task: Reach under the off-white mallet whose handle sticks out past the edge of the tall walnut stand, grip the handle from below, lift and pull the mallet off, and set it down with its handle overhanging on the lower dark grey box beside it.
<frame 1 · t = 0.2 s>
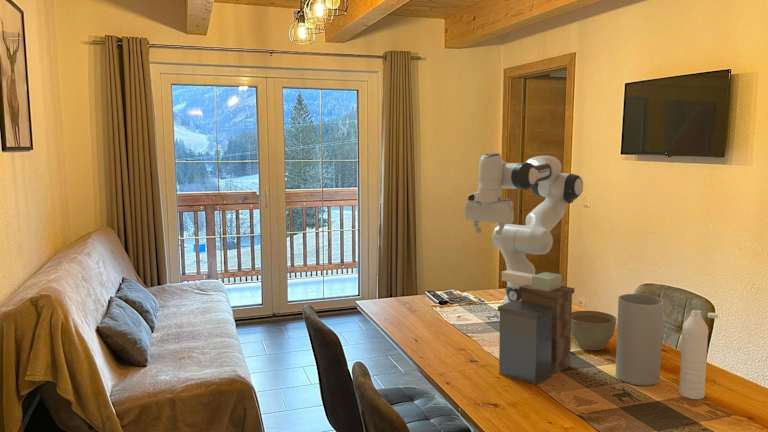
hand: (488, 234, 215), 39 cm above the table, tool pointing down, fingers open, 8 cm apart
dark grey box: (524, 375, 181), on the table
planter bowl: (591, 346, 205), on the table
water bottle: (695, 396, 165), on the table
mallet: (533, 284, 190), point 26 cm above the table, touching tall stand
tall stand: (545, 364, 189), on the table
cylinder vase: (637, 378, 178), on the table
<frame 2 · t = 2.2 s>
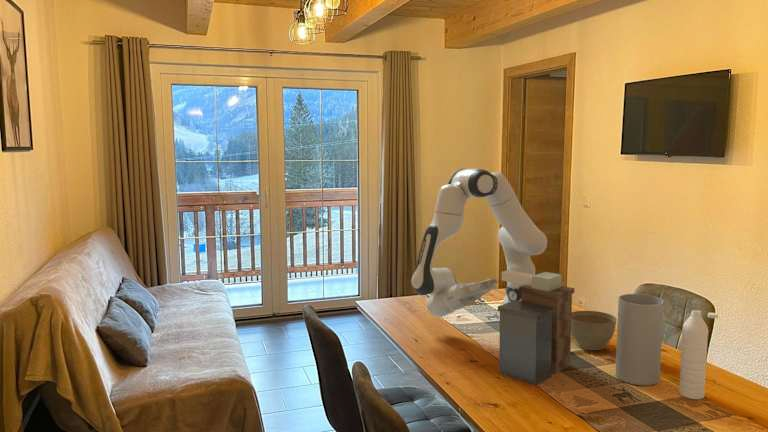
hand: (488, 282, 202), 24 cm above the table, tool pointing upward, fingers open, 8 cm apart
nothing on the table moved.
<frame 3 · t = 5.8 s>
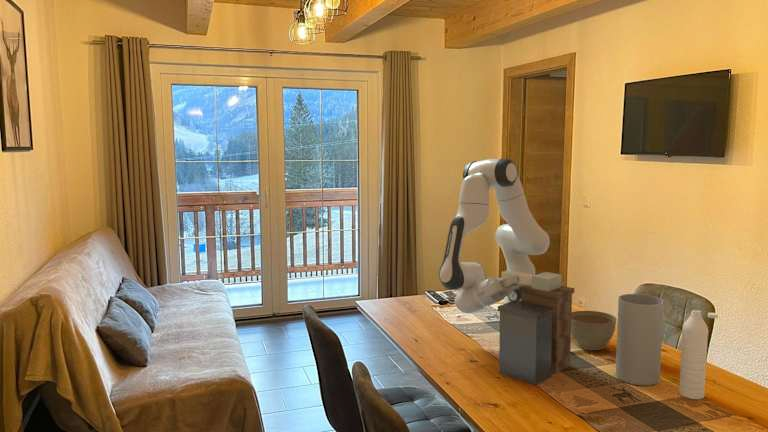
hand: (522, 276, 192), 28 cm above the table, tool pointing upward, fingers closed on mallet, 4 cm apart
mallet: (533, 284, 190), point 26 cm above the table, touching gripper, tall stand
everything else where it was.
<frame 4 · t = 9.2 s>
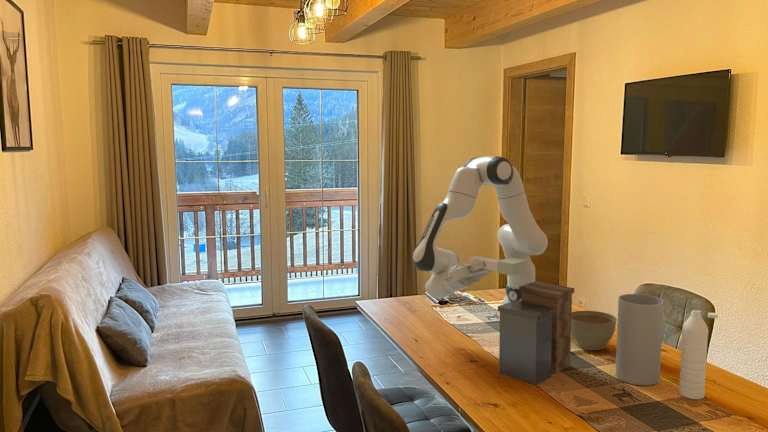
hand: (488, 262, 196), 32 cm above the table, tool pointing upward, fingers closed on mallet, 4 cm apart
mallet: (499, 269, 193), point 30 cm above the table, touching gripper
everything else where it was.
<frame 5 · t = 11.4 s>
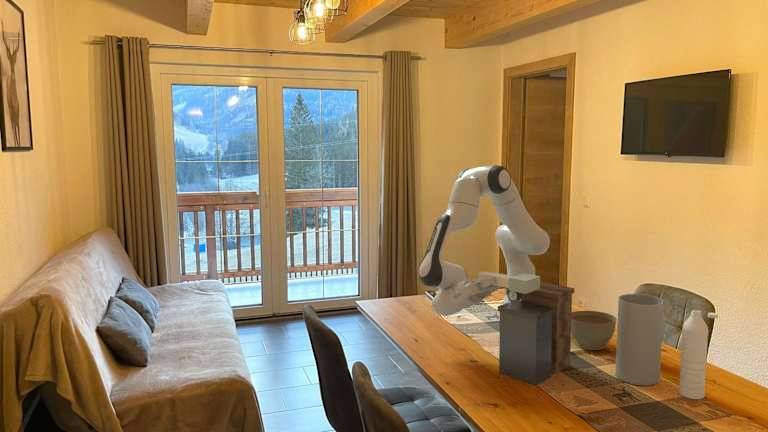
hand: (499, 278, 184), 30 cm above the table, tool pointing upward, fingers closed on mallet, 4 cm apart
mallet: (510, 286, 181), point 28 cm above the table, touching gripper
everything else where it was.
when the fingers open (25 cm above the table, at t = 12.9 s): mallet drops 1 cm, resting on dark grey box.
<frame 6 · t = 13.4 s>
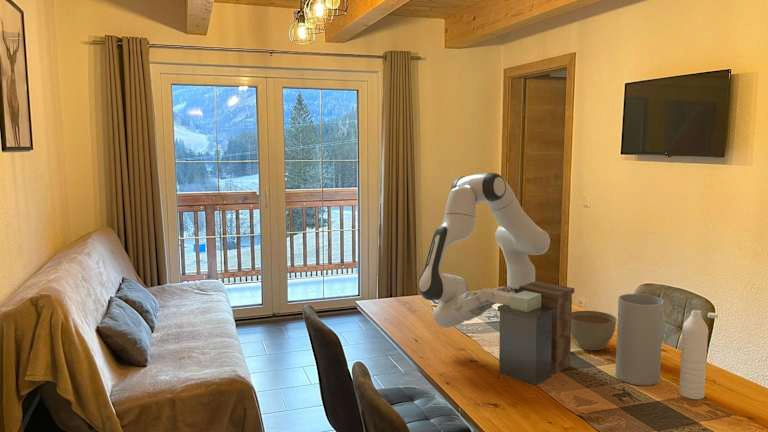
hand: (501, 291, 184), 25 cm above the table, tool pointing upward, fingers open, 8 cm apart
mallet: (511, 304, 182), point 22 cm above the table, touching dark grey box
everything else where it was.
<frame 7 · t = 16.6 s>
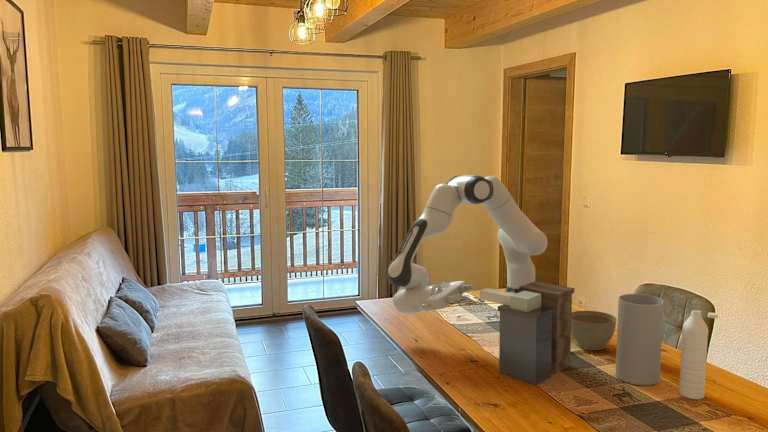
hand: (466, 292, 198), 22 cm above the table, tool pointing upward, fingers open, 8 cm apart
nothing on the table moved.
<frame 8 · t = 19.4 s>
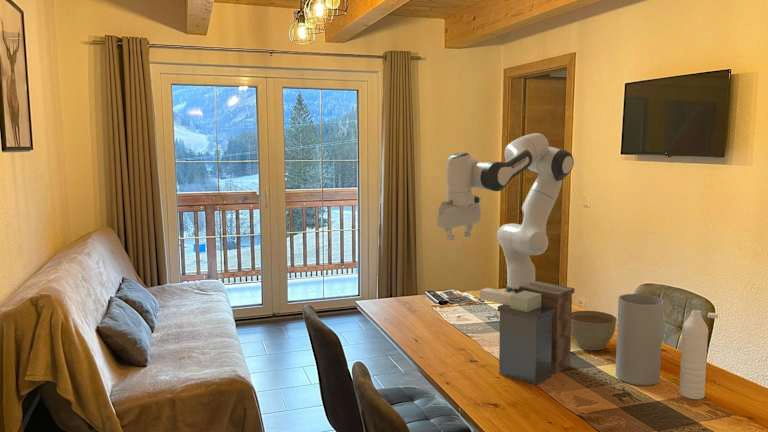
hand: (459, 238, 204), 39 cm above the table, tool pointing down, fingers open, 8 cm apart
nothing on the table moved.
at the end: mallet inside the target area on the dark grey box (0.1 cm from its centre), point 22.0 cm above the dark grey box's base; mallet tilted 0°; the gripper is holding nothing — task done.
